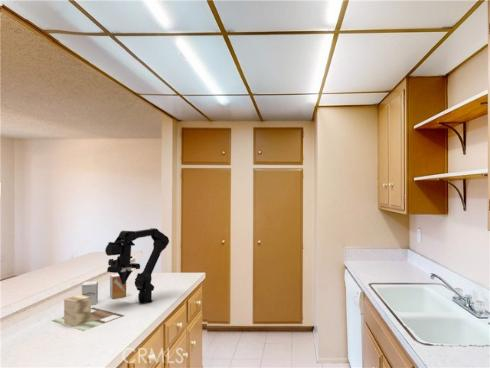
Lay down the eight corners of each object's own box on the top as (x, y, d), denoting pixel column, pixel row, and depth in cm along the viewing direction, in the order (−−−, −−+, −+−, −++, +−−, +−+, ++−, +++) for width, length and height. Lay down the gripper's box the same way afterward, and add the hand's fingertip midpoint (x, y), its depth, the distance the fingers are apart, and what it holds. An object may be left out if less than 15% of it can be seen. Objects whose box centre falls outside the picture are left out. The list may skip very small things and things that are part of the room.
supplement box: (81, 308, 183) (81, 284, 183) (83, 304, 190) (83, 281, 190) (96, 307, 185) (96, 283, 185) (98, 303, 192) (98, 280, 192)
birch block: (80, 317, 164) (80, 294, 165) (90, 320, 160) (90, 296, 161) (64, 323, 158) (64, 298, 158) (74, 326, 153) (74, 301, 154)
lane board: (93, 310, 180) (93, 307, 180) (125, 318, 167) (125, 315, 167) (51, 324, 161) (51, 320, 161) (83, 334, 148) (83, 331, 148)
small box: (112, 299, 199) (112, 276, 199) (109, 296, 204) (109, 274, 205) (126, 297, 203) (126, 274, 204) (123, 294, 209) (123, 272, 209)
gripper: (126, 252, 195) (124, 280, 194) (100, 254, 179) (98, 285, 177) (141, 253, 191) (139, 282, 189) (116, 256, 174) (114, 287, 172)
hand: (123, 284), depth 182 cm, fingers closed
